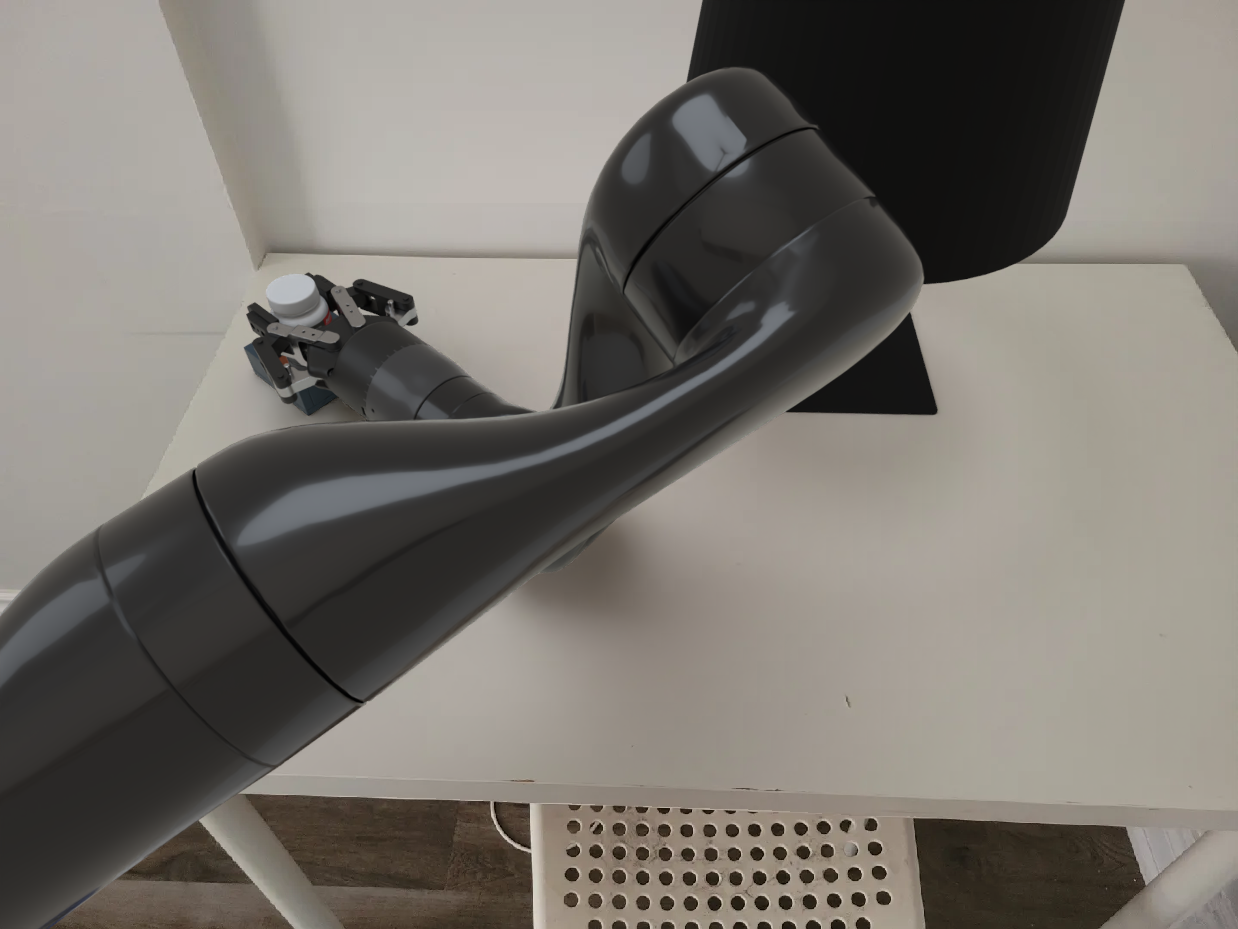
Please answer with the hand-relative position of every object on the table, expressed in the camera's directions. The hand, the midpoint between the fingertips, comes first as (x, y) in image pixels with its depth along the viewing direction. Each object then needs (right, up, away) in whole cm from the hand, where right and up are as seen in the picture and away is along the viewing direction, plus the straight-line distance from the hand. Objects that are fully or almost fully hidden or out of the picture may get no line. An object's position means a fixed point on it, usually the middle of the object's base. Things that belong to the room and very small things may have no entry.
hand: (280, 297), depth 75 cm
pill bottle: (+2, -5, +4) cm, 7 cm away
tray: (+2, -6, +4) cm, 7 cm away
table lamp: (+45, -9, +2) cm, 46 cm away
